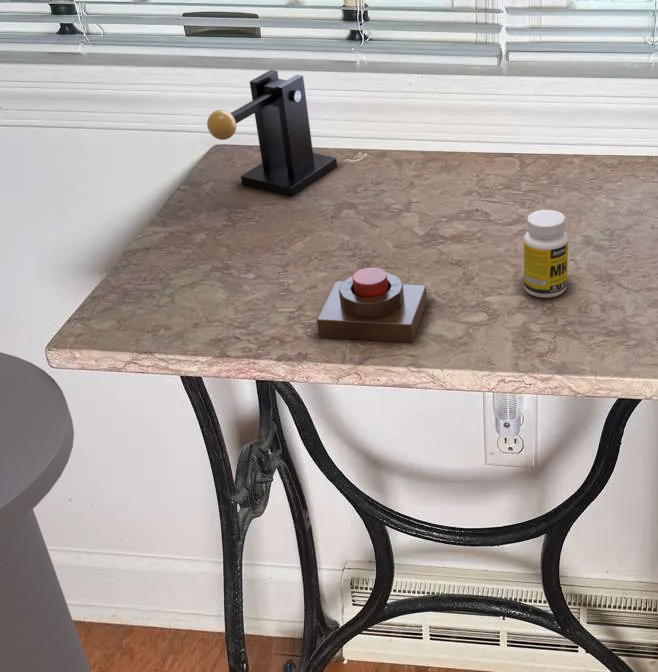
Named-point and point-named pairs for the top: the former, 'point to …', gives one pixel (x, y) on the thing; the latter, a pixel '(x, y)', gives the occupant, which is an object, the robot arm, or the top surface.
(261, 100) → the lever
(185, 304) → the top surface
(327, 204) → the top surface
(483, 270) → the top surface
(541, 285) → the supplement bottle
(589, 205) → the top surface
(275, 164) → the bracket
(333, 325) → the button block
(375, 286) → the button
